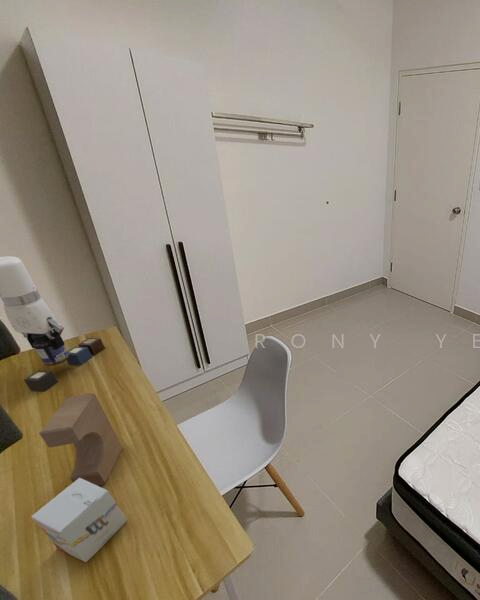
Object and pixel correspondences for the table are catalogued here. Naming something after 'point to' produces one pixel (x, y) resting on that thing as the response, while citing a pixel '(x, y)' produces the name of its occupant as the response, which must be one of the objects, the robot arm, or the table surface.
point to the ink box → (80, 519)
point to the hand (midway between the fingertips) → (48, 346)
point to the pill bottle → (48, 350)
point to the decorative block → (85, 437)
